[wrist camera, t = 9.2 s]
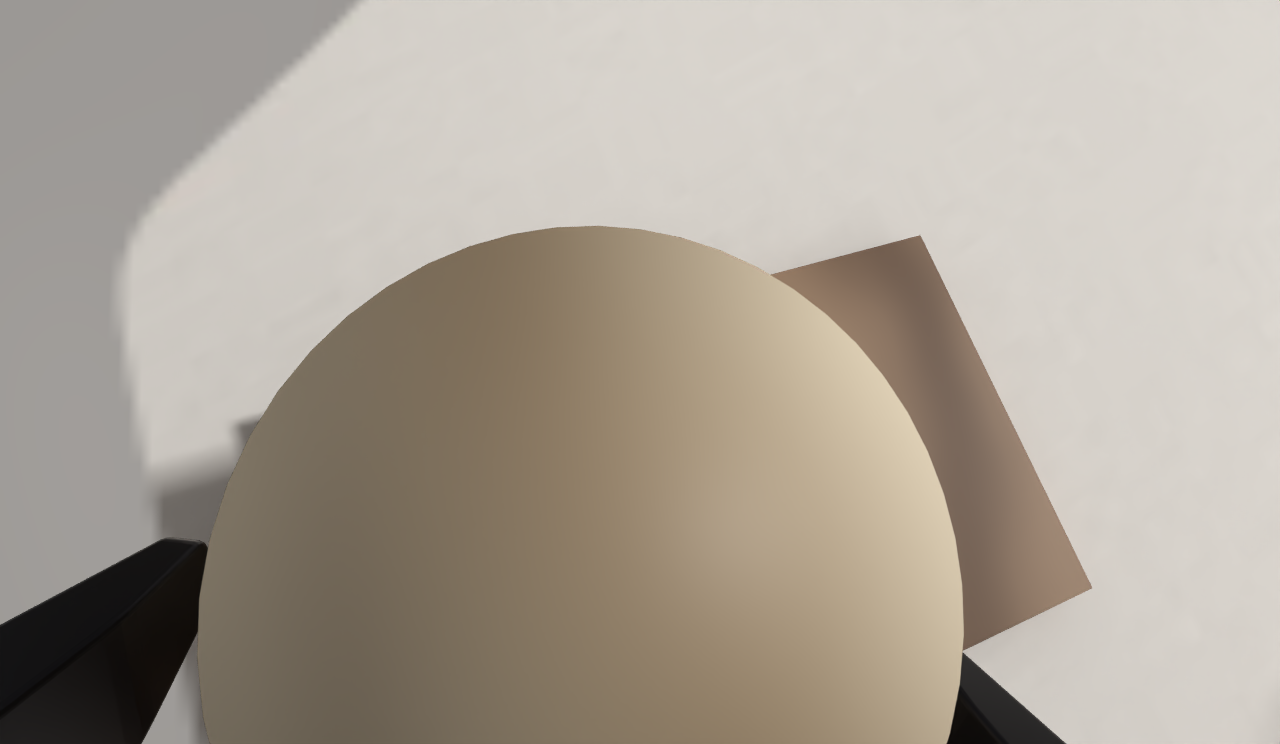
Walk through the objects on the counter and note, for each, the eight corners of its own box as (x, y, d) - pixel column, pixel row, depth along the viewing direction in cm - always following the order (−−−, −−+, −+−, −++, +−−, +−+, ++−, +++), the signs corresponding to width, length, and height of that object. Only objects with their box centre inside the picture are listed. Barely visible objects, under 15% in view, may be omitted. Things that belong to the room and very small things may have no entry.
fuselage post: (510, 719, 15) (478, 1307, 3) (405, 539, 16) (46, 450, 4) (678, 594, 17) (1096, 660, 5) (574, 434, 18) (701, 130, 5)
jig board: (410, 895, 15) (374, 1010, 11) (299, 413, 18) (238, 368, 14) (1060, 587, 20) (1191, 590, 16) (900, 251, 23) (980, 185, 19)
